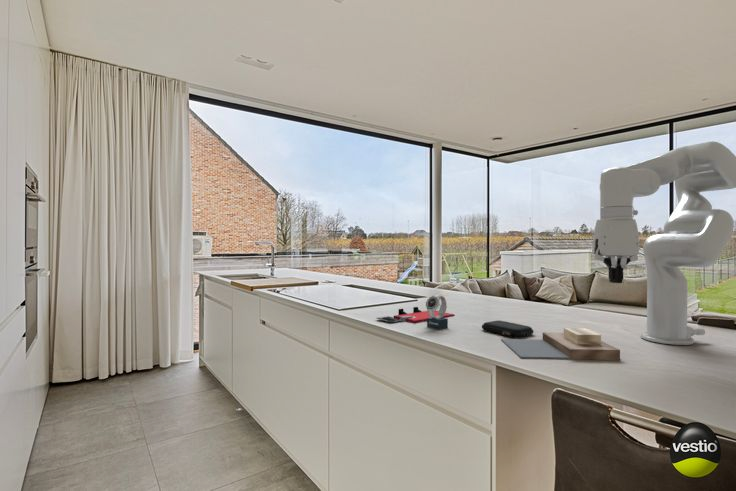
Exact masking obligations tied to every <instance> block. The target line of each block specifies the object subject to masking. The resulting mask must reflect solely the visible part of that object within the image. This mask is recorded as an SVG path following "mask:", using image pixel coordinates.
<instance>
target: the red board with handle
mask: <svg viewBox="0 0 736 491" xmlns="http://www.w3.org/2000/svg"><path fill="white" fill-rule="evenodd" d="M412 308H413V309H412V310H413V311H412V313H411V312H410V313H407V312H405V311H404V308H398V311H397V312H398V314H397V315H393V317H392V316H389V315H388V316H382V317H381V316H380V317H376V320H380V321H385V322H388V323H393V322H403V323H404V322H407V323H411V324H418V323H419V324H420V323H424V322H427V318H429V317H430V316H429V313H428V311H427V310H425V311H424V310H423V311H422V310H420V309H419V307H418V306H414V307H412ZM438 312H439V310H436V311H435V313H434V315H435V316H438ZM452 317H455V314H453V313H449V312H445V314H444V316H443V317H442V318H452Z"/></svg>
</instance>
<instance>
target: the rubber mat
mask: <svg viewBox="0 0 736 491" xmlns="http://www.w3.org/2000/svg"><path fill="white" fill-rule="evenodd" d="M500 340H501V342H502V343H504V344H505V346H506V347H508V348H509V349H510V350H511V351H513V353H514V354H516V355H517V357H519V358H520V359H538V360H539V359H540V360H541V359H542V360H543V359H544V360H545V359H546V360H571V359H570V357H569V356H567V355H565V354H564V353H562V352H561V351H559V350H558V349H556V348H555V347H553V346H552V345H550V344H549V343H547V342H545V341H544V340H543V339H534V338H533V339H530V338H529V339H528V338H526V339H525V338H524V339H522V338H521V339H520V338H500Z"/></svg>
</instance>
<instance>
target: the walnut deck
mask: <svg viewBox="0 0 736 491" xmlns="http://www.w3.org/2000/svg"><path fill="white" fill-rule="evenodd" d="M542 340H544V341H545V342H547V343H549V344H550V345H552V346H553V347H555V348H556V349H558V350H559V351H561V352H562V353H564V354H565V355H567V356H569V357H570V359H569V360H600V361H601V360H604V361H605V360H607V361H621V350H620V349H619V348H617V347H615V346H613V345H610V344H609V343H606V342H604V341H602V340H601V345H599V344H576V343H574V342H572V341H571V340H569V339H567V338H565V337H564V332H542Z"/></svg>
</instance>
